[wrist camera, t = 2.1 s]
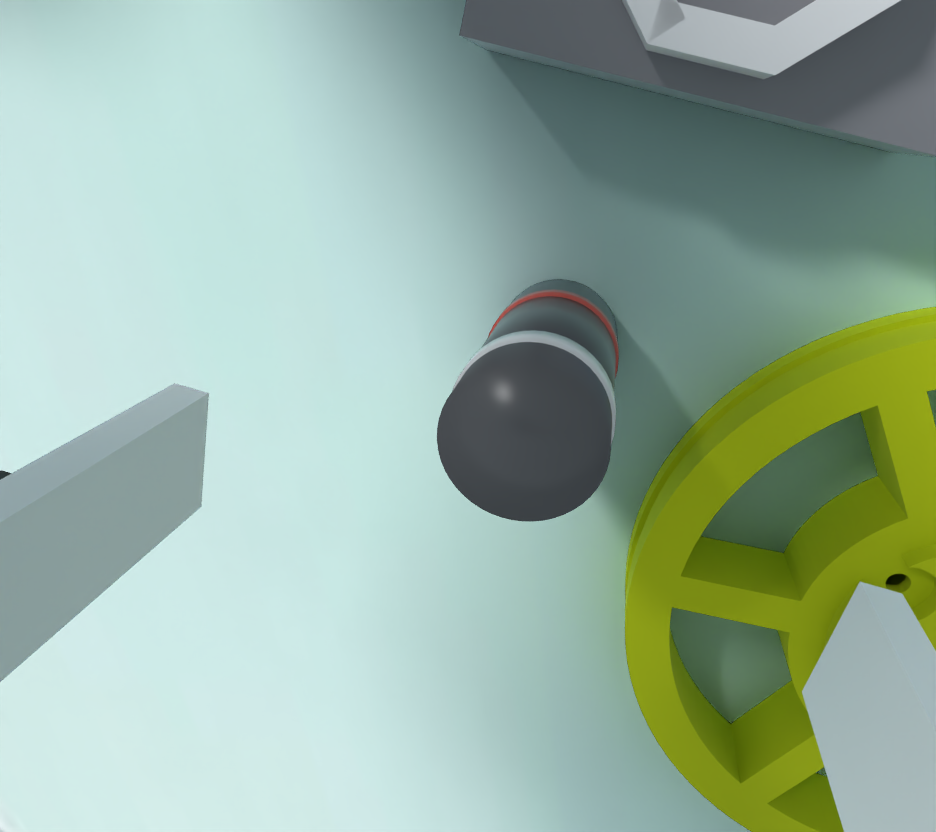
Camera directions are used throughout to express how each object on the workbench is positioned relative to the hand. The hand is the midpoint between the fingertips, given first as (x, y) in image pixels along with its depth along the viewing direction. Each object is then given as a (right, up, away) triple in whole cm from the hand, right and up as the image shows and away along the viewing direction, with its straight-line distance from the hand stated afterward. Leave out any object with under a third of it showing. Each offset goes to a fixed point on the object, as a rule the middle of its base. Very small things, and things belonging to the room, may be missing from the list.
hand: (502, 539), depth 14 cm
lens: (+3, +6, +18) cm, 19 cm away
